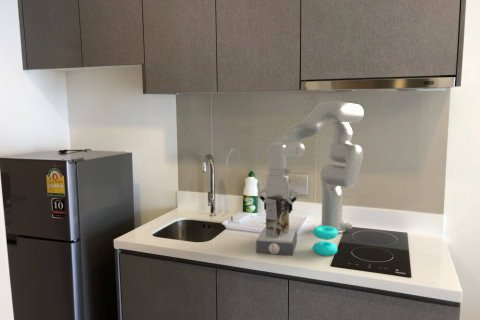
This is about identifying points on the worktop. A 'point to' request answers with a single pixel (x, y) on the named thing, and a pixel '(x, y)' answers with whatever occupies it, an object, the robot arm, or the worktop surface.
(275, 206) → the coffee box
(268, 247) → the scale
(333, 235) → the donuts
